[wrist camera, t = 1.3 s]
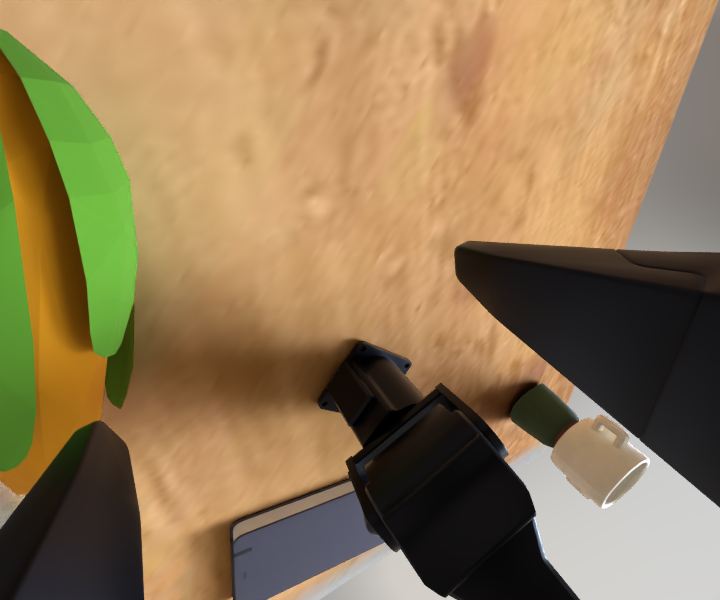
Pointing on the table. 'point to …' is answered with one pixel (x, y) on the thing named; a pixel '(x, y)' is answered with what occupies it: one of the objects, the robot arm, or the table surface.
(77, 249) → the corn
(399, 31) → the table surface
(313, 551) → the notebook
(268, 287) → the table surface
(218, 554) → the table surface
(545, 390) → the character mug
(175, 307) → the table surface
